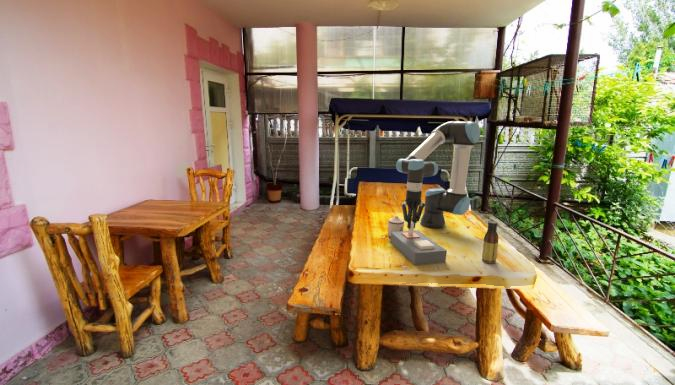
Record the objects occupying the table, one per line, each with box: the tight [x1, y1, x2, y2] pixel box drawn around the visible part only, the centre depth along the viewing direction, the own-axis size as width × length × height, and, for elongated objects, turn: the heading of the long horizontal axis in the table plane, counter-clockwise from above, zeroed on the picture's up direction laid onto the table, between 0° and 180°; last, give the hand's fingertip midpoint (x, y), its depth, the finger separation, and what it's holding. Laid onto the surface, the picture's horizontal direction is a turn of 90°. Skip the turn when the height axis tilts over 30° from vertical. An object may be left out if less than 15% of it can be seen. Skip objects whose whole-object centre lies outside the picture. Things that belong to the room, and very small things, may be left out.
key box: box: [390, 229, 447, 266], centre depth 161 cm, size 16×28×6 cm, turn 14°
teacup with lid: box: [387, 215, 405, 238], centre depth 184 cm, size 12×9×12 cm
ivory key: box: [414, 240, 434, 250], centre depth 154 cm, size 7×7×4 cm
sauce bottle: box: [481, 220, 499, 265], centre depth 150 cm, size 6×6×20 cm
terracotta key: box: [402, 232, 420, 239], centre depth 167 cm, size 7×7×4 cm
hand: (410, 234), depth 166 cm, fingers closed
